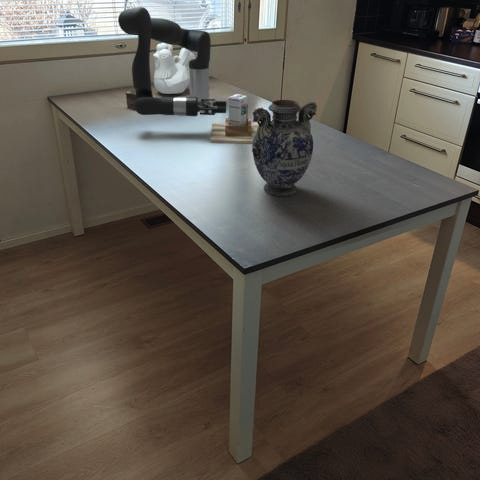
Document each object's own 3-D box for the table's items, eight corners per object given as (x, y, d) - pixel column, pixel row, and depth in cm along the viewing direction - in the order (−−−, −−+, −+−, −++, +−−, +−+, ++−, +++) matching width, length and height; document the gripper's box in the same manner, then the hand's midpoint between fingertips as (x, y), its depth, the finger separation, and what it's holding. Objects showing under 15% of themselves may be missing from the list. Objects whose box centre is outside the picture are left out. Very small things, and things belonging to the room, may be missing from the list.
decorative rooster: (159, 99, 259) (156, 46, 246) (149, 91, 271) (146, 40, 259) (206, 94, 269) (206, 42, 256) (194, 87, 281) (193, 37, 269)
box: (145, 107, 246) (144, 91, 243) (136, 110, 242) (135, 94, 238) (135, 105, 249) (134, 89, 245) (126, 108, 245) (125, 92, 241)
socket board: (212, 125, 225) (212, 113, 223) (263, 125, 226) (264, 114, 223) (210, 142, 206) (210, 130, 204) (266, 143, 207) (267, 131, 204)
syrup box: (240, 134, 212) (241, 98, 205) (227, 132, 215) (228, 96, 207) (247, 131, 216) (248, 95, 209) (235, 128, 219) (235, 93, 212)
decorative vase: (262, 206, 158) (266, 114, 145) (238, 183, 173) (239, 98, 159) (324, 196, 166) (333, 107, 152) (295, 175, 181) (301, 92, 167)
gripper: (184, 101, 202) (226, 102, 202) (186, 92, 214) (226, 93, 215) (184, 121, 206) (226, 121, 206) (187, 110, 218) (226, 111, 219)
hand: (226, 107), depth 211 cm, fingers open, 8 cm apart
